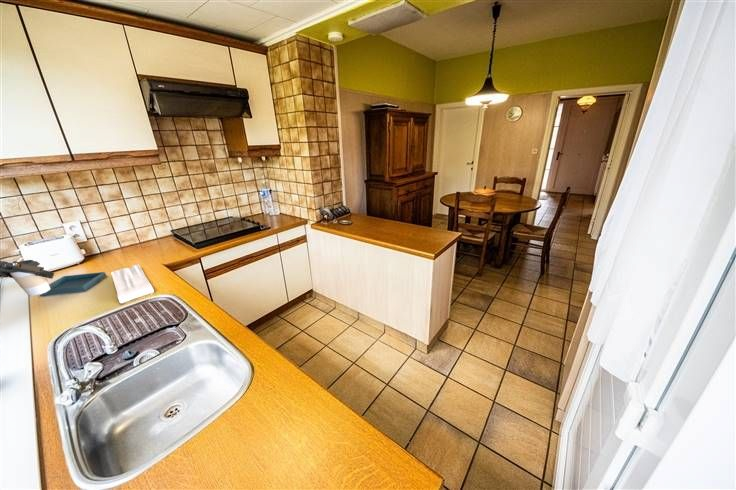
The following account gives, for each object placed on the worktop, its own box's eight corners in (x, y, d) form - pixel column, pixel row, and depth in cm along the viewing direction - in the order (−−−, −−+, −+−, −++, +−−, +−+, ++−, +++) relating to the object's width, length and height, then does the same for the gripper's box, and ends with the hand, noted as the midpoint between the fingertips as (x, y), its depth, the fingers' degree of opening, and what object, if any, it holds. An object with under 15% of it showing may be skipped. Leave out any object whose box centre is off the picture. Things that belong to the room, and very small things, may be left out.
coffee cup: (53, 284, 126) (36, 256, 120) (54, 290, 120) (37, 261, 114) (24, 293, 119) (4, 263, 113) (24, 300, 114) (3, 269, 108)
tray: (40, 296, 128) (36, 291, 127) (66, 281, 142) (63, 276, 140) (85, 291, 131) (82, 286, 130) (107, 276, 144) (104, 271, 143)
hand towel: (138, 262, 150) (152, 287, 125) (141, 268, 152) (155, 293, 126) (109, 270, 142) (118, 299, 117) (112, 276, 144) (121, 306, 118)
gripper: (-62, 274, 97) (9, 287, 118) (6, 268, 100) (65, 282, 121) (-54, 255, 100) (15, 271, 121) (13, 249, 103) (69, 266, 123)
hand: (40, 276), depth 121 cm, fingers closed on coffee cup, 9 cm apart
